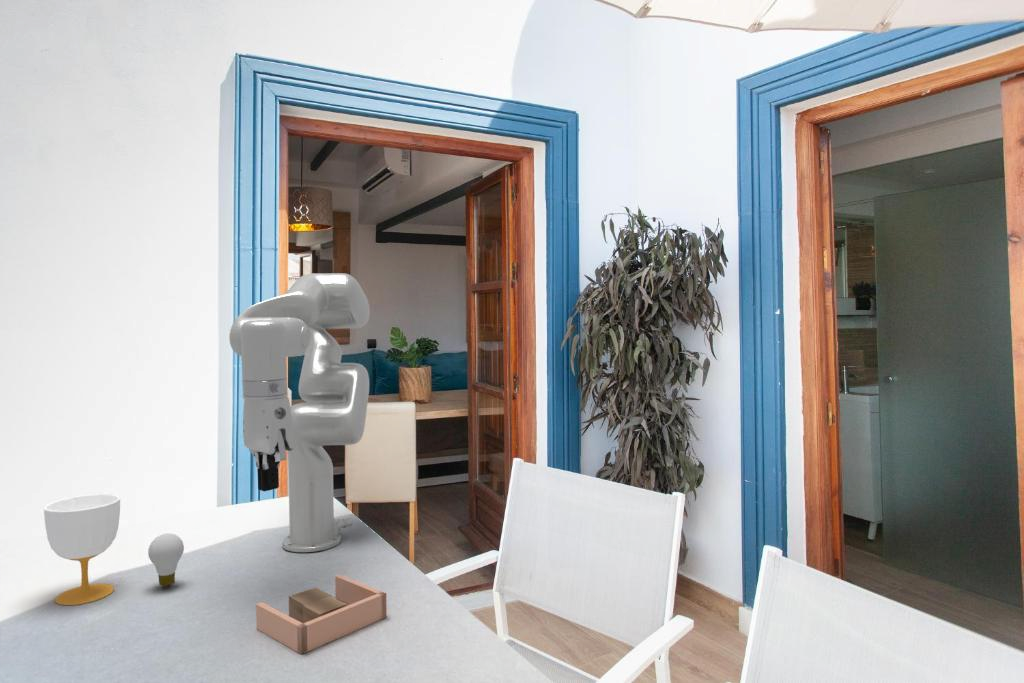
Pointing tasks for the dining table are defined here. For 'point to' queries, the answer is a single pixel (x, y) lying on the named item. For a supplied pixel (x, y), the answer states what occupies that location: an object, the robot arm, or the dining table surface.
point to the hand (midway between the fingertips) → (268, 488)
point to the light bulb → (166, 557)
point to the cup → (82, 538)
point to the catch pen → (325, 617)
